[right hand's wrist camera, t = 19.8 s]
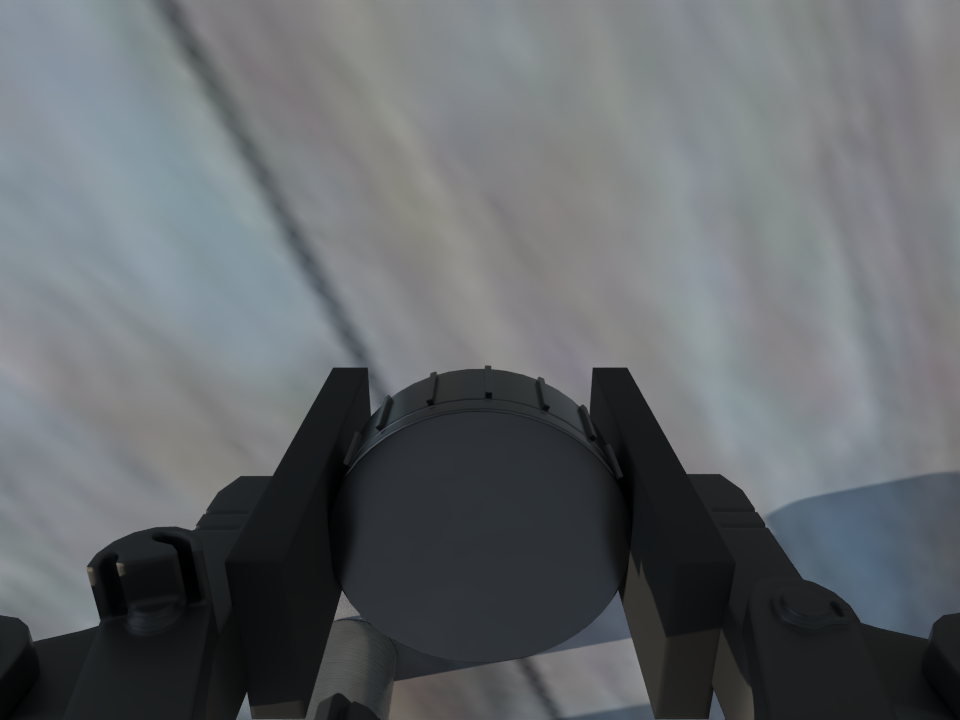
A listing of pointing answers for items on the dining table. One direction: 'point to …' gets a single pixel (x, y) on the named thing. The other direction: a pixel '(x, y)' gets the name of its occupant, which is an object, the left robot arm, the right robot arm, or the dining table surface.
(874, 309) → the dining table surface
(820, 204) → the dining table surface
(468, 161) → the dining table surface
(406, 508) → the lid
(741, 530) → the right robot arm
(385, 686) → the dark grey cylinder
